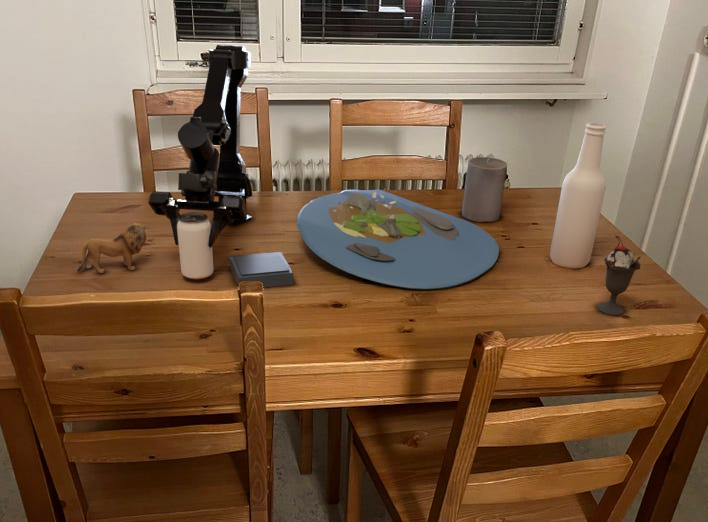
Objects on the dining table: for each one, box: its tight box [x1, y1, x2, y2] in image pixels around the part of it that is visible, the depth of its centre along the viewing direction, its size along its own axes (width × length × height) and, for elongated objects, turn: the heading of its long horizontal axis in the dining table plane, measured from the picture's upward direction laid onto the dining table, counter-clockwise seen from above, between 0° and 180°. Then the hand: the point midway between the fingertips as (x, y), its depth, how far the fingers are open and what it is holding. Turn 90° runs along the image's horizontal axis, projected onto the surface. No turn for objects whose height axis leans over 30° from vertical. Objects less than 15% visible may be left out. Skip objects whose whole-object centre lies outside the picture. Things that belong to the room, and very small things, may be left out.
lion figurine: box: [76, 222, 147, 274], centre depth 151 cm, size 15×5×9 cm, turn 116°
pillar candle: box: [461, 156, 508, 223], centre depth 184 cm, size 10×10×15 cm
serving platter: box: [296, 187, 500, 291], centre depth 165 cm, size 45×43×12 cm
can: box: [177, 211, 214, 280], centre depth 147 cm, size 6×6×12 cm
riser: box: [229, 251, 294, 289], centre depth 152 cm, size 11×11×3 cm
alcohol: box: [549, 121, 607, 269], centre depth 157 cm, size 9×9×30 cm
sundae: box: [597, 235, 642, 316], centre depth 141 cm, size 7×7×15 cm
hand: (193, 245), depth 146 cm, fingers closed on can, 6 cm apart
